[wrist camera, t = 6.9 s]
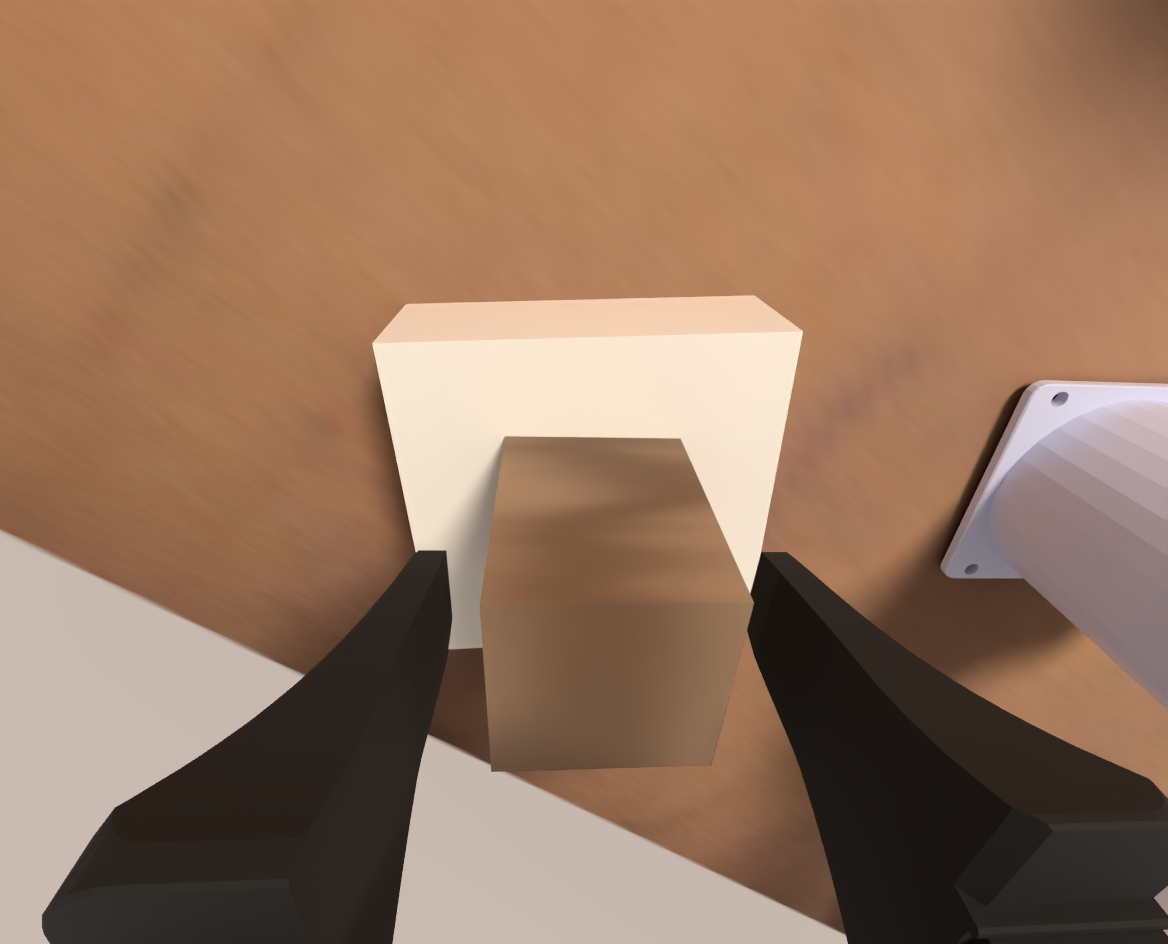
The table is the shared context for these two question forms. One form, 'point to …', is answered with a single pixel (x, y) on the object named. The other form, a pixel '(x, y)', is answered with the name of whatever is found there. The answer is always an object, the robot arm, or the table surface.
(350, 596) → the table surface
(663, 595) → the walnut block
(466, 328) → the ceramic base
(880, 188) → the table surface
